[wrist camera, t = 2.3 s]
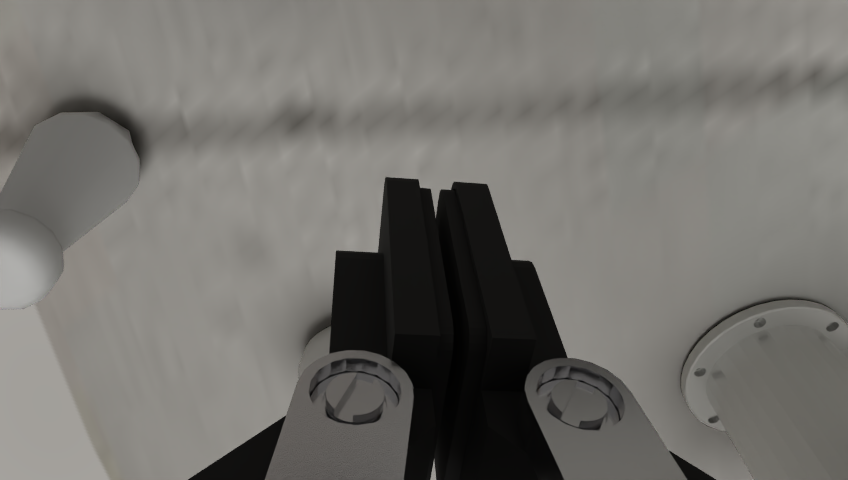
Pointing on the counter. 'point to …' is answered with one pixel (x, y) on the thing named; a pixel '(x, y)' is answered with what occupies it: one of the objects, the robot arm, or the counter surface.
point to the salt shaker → (60, 198)
